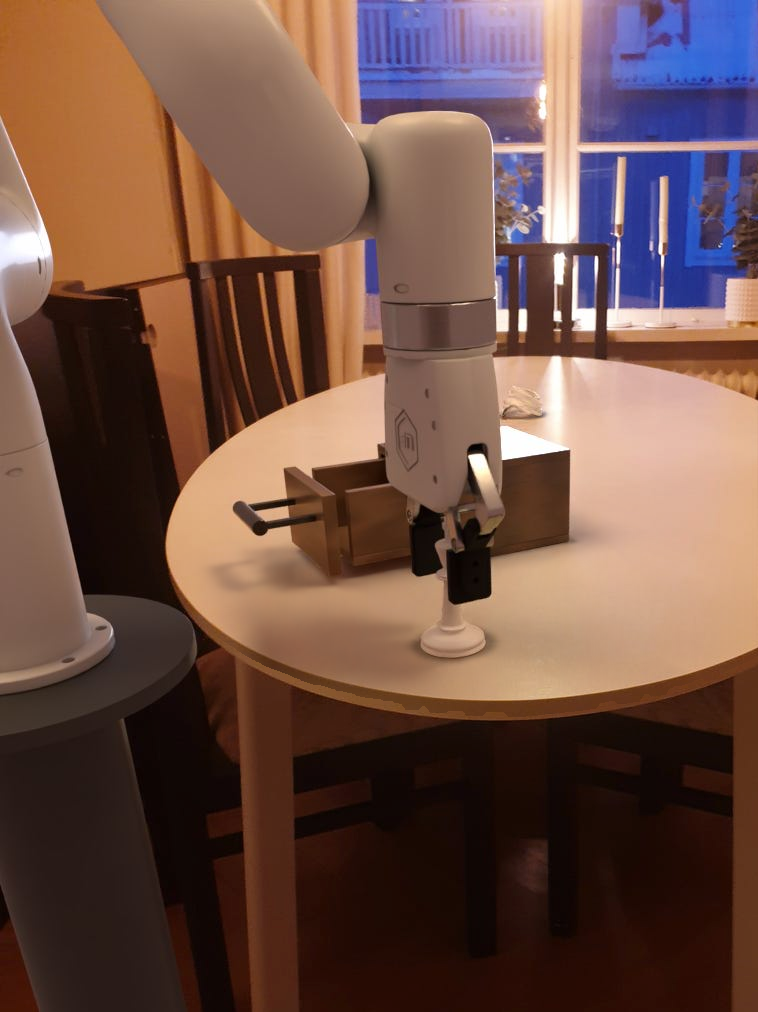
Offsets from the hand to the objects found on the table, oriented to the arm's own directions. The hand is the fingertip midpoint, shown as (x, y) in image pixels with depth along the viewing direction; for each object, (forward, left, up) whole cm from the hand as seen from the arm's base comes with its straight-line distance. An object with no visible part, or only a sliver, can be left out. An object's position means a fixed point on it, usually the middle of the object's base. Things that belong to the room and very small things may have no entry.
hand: (450, 583), depth 69 cm
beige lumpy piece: (+47, +72, -5) cm, 86 cm away
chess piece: (0, 0, -5) cm, 5 cm away
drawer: (0, +22, -4) cm, 22 cm away
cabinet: (+13, +22, -5) cm, 26 cm away
